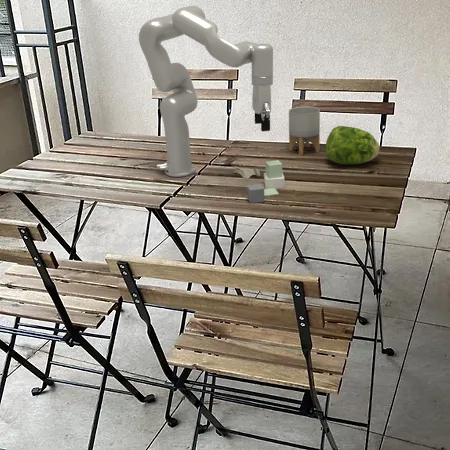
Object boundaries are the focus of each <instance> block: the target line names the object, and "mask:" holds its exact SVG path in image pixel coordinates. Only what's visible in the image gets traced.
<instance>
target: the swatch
mask: <svg viewBox="0 0 450 450" xmlns="http://www.w3.org/2000/svg"><path fill="white" fill-rule="evenodd" d="M279 195H280V193H279V192H278V190H277V188H270V189H266V188H264V198H265V197H271V196H279Z"/></svg>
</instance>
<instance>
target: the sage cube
mask: <svg viewBox="0 0 450 450" xmlns="http://www.w3.org/2000/svg"><path fill="white" fill-rule="evenodd" d="M265 173H266V175H267V176H268V178H269V179H271V178H279V177H282V173H283V164H282V162H281V161H280V160H279V159H277V160H276V159H275V160H268V161H265Z"/></svg>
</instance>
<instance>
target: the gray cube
mask: <svg viewBox="0 0 450 450" xmlns="http://www.w3.org/2000/svg"><path fill="white" fill-rule="evenodd" d="M264 189H265V187H264V186H263V184H262V183H257V184H256V183H255V184H247V185H246V190H247V191H246V193H247V194H246V195H247V199H248V201H249V203H250V204H256V203H264V202H265V200H266V199H265V197H264Z"/></svg>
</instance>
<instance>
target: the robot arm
mask: <svg viewBox="0 0 450 450" xmlns="http://www.w3.org/2000/svg"><path fill="white" fill-rule="evenodd" d="M218 29H219V28H218V25H216V23H214V22H213V21H211V20H209V19H207V18H206V13H205V12H204V10H203V9H202V8H201V7H199V6H197V5H189V6H184V7H183V6H182V7H179V8H178V9H176V10H175V11H174V12H173V13H172V14H168V15H165V16H161V17H155V18H152V19H149V20H147V21H146V22H144V24H143V25H142V26H141V28H140V29H139V32H138V33H139V34H138V42H139V46H140V49H141V51H142V53H143V55H144V57H145V59H146V63H147V66H148V69H149V71H150V74H151V77H152V80H153V82H154V85H155V88H156V89H157V90H158V91H159V92H162V93H167V92H171V91H172V92H173V93H171V94H168V95H166V96H165V97H164V98H163V99H162V100H161V102H160V103H159V104H160V106H159V110H160V116H161V118H162V121H163V128H164V136H165V146H166V148H165V149H166V156H167V158H166V162H164V163H156V170H157V169H158V170H160V171H163V170H164V174H165V175H166V176H169V177H174V178H175V177H176V178H177V177H187V176H189V175H190V176H191V175H193V174H194V173H196V171H197V168H196V166H195V165H193V164H192V154H191V152H192V151H191V140H190V139H191V138H190V129H189V124H188V122H187V119H186V117H185V116H186V115H188V114H190V113H193V112H194V111H195V110H196V109H197V107H198V103H199V102H198V96H197V93H196V90H195V87H194V84H193V81H192V78H191V76H190V73H189V71H188V69H187V68H186V67H185V66H184V65H183V64H182V63H179V62H173V63H172V61H171V59H170V57H169V53H168V52H167V50H166V48H165V47H164V46H163V45H162V43H163V42H164V41H168V40H172V39H175V38H177V37H180V36H184V35H185V36H186V37H188V38H190V39H192V40H193V41H196V42H197V43H199V44H200V45H202V46H204V48H205V49H206V51H207V52H208V54H209V55H210V56H211V57H212V58H214V59H216V60H217V61H218V62H220V63H222V64H224V65H226V66H228V67H230V68H240V67H242V66H244V65H247V64H250V63H251V86H252V97H251V101H252V103H251V108H252V110H253V111H254V123H255V125H257V124H258V125H259V124H260V130H261V132H269V131H271V113H272V112H271V111H272V89H271V86H273V84H274V48H273V46H272V44H269V43H257V42H253V41H252V42H251V41H248V40H246V41H242V42H238V43H236V44H232V43H230V42H229V41H226V40H225V39H223V38H222V37H221V36H220V35H219V34H218V32H219V31H218Z"/></svg>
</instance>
